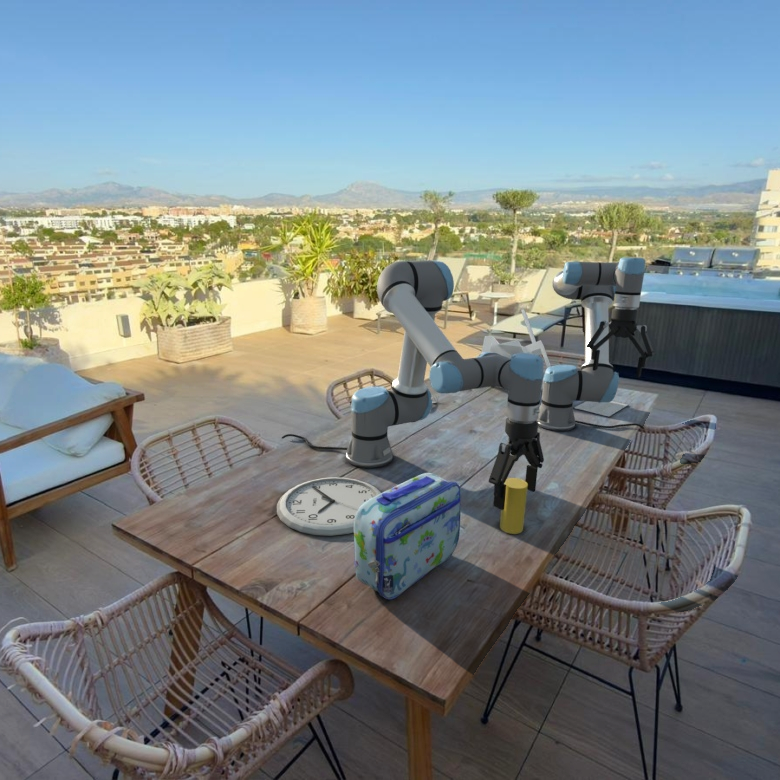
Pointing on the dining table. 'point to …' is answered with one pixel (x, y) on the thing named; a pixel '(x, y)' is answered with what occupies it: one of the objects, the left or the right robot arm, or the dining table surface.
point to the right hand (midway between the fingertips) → (616, 373)
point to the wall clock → (324, 505)
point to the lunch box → (406, 533)
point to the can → (514, 506)
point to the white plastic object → (516, 345)
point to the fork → (435, 400)
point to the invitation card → (601, 407)
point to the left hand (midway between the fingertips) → (514, 498)
